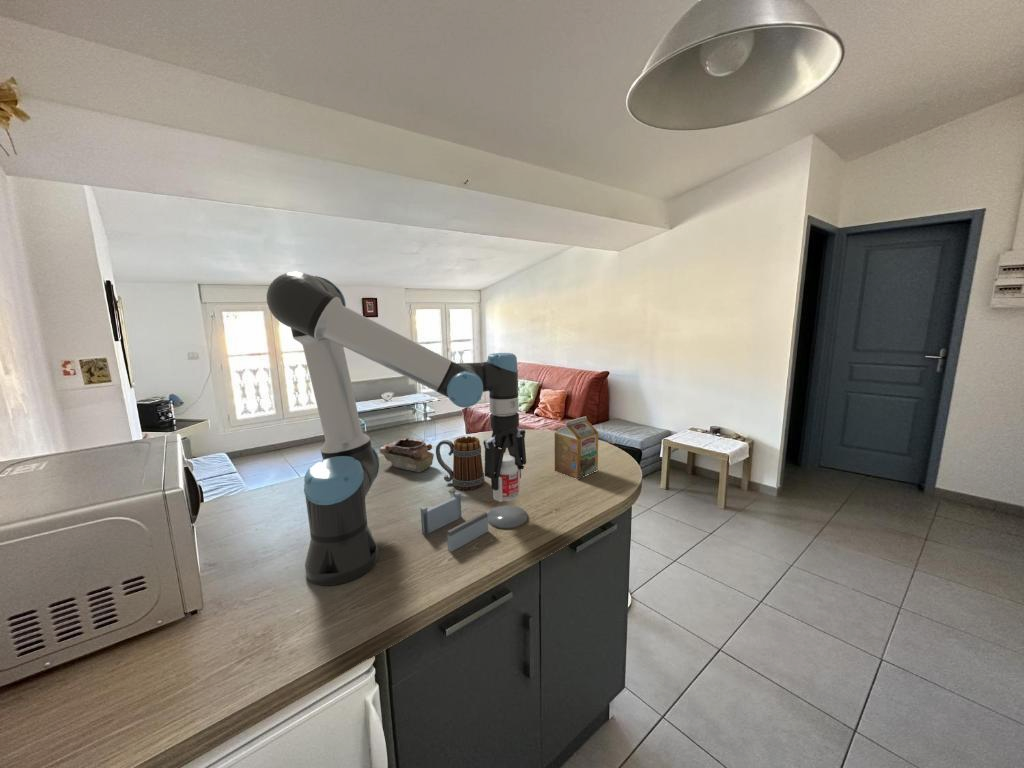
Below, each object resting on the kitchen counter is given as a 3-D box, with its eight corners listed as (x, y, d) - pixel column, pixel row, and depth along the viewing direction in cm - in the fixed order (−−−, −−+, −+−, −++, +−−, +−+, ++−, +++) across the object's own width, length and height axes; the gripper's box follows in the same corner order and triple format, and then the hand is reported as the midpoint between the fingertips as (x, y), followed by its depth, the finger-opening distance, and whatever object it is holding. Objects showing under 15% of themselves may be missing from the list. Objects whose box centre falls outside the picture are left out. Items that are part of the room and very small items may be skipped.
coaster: (507, 533, 100) (507, 530, 100) (478, 518, 107) (478, 516, 107) (535, 516, 108) (535, 514, 107) (506, 504, 115) (506, 501, 115)
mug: (486, 477, 134) (485, 435, 132) (481, 491, 124) (479, 445, 121) (442, 476, 136) (440, 434, 133) (433, 489, 126) (430, 445, 123)
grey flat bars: (451, 552, 92) (449, 524, 91) (422, 533, 101) (420, 508, 99) (488, 531, 101) (487, 505, 100) (458, 515, 109) (457, 492, 108)
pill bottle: (511, 504, 102) (510, 463, 100) (491, 499, 105) (490, 460, 103) (522, 494, 107) (521, 455, 106) (503, 490, 110) (502, 452, 109)
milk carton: (577, 480, 131) (577, 425, 127) (554, 470, 139) (554, 418, 135) (597, 471, 137) (598, 419, 134) (574, 463, 145) (575, 413, 142)
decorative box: (409, 480, 134) (407, 453, 132) (371, 468, 145) (369, 443, 143) (436, 467, 144) (435, 442, 143) (399, 457, 155) (397, 433, 154)
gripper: (487, 423, 93) (491, 513, 97) (539, 407, 106) (540, 487, 111) (466, 418, 98) (471, 504, 102) (518, 403, 112) (520, 480, 116)
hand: (507, 495), depth 106 cm, fingers closed on pill bottle, 6 cm apart
